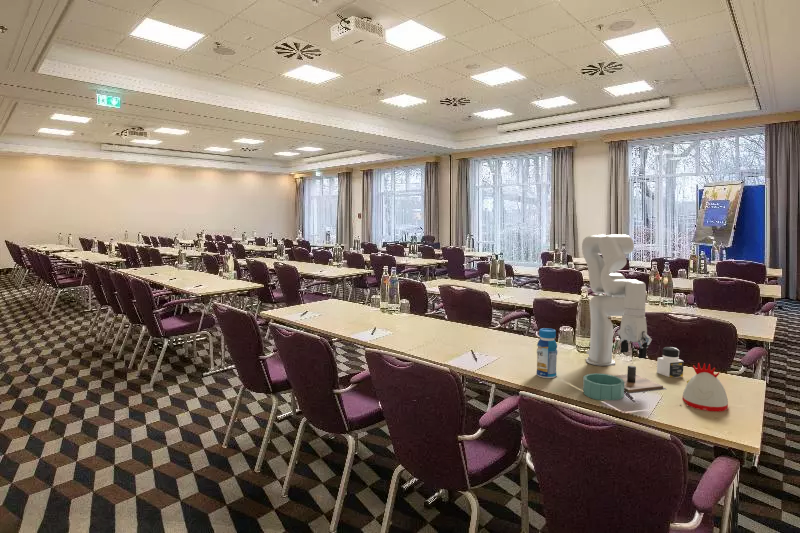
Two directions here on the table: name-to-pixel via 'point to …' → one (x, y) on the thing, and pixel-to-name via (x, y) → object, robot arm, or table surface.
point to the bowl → (603, 387)
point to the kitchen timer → (705, 391)
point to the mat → (645, 391)
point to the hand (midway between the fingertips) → (633, 355)
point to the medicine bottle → (670, 363)
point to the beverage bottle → (546, 353)
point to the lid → (637, 381)
